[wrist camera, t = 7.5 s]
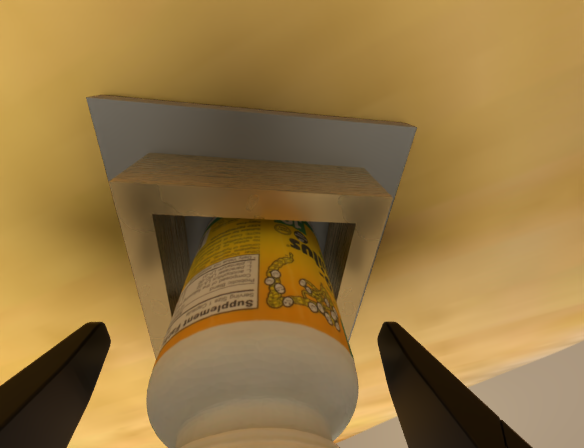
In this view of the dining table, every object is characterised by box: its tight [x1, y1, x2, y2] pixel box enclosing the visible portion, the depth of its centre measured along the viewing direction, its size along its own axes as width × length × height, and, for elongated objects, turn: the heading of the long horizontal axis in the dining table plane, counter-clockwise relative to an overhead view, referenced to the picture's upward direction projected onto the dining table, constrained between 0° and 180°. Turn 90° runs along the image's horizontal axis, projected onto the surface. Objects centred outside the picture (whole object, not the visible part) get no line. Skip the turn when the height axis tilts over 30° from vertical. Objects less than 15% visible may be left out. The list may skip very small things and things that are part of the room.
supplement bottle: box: [147, 217, 358, 448], centre depth 9 cm, size 5×5×10 cm
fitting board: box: [86, 95, 417, 358], centre depth 15 cm, size 12×20×1 cm, turn 175°
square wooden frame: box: [109, 153, 393, 359], centre depth 11 cm, size 8×8×3 cm
